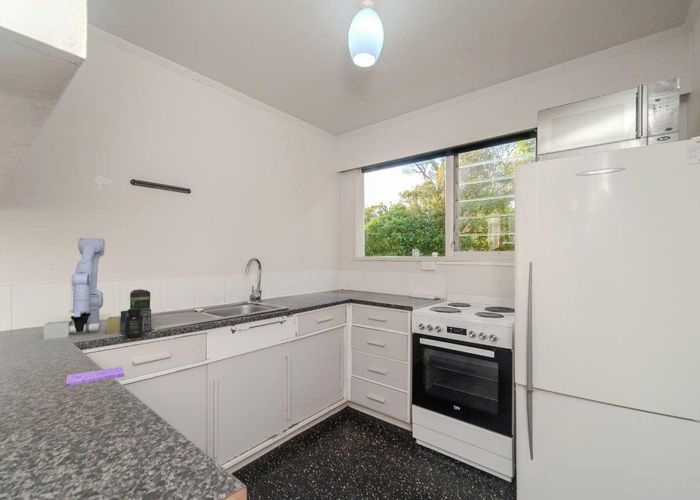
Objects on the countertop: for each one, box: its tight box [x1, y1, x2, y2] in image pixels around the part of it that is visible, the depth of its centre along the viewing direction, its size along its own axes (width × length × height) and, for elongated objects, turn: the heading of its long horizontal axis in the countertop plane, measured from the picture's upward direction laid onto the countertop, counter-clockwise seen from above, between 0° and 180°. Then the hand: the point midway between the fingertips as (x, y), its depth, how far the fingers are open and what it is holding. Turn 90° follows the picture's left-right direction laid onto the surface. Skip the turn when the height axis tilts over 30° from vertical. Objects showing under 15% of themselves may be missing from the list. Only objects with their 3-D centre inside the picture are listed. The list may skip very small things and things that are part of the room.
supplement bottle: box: [124, 308, 145, 339], centre depth 138 cm, size 7×7×12 cm
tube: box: [69, 322, 101, 334], centre depth 141 cm, size 18×4×4 cm, turn 119°
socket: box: [105, 315, 121, 335], centre depth 148 cm, size 5×7×6 cm
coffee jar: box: [129, 289, 151, 309], centre depth 159 cm, size 10×8×19 cm
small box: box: [120, 308, 152, 336], centre depth 146 cm, size 11×6×10 cm, turn 144°
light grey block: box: [42, 320, 74, 341], centre depth 138 cm, size 8×6×6 cm
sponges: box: [65, 366, 125, 387], centre depth 90 cm, size 7×13×2 cm, turn 128°
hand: (80, 330), depth 142 cm, fingers closed on tube, 3 cm apart
